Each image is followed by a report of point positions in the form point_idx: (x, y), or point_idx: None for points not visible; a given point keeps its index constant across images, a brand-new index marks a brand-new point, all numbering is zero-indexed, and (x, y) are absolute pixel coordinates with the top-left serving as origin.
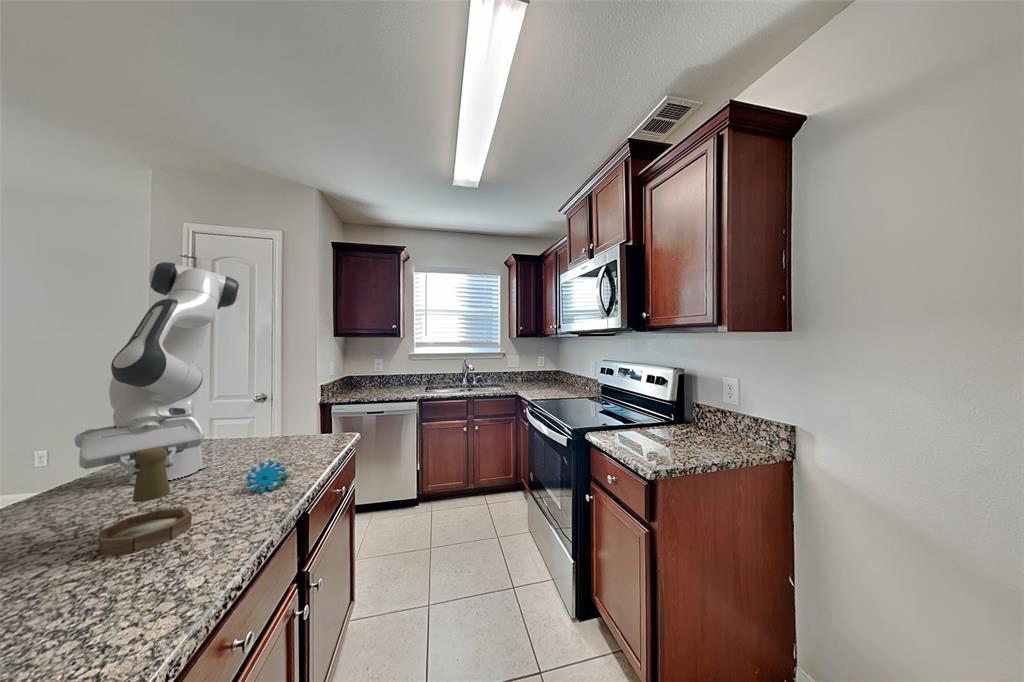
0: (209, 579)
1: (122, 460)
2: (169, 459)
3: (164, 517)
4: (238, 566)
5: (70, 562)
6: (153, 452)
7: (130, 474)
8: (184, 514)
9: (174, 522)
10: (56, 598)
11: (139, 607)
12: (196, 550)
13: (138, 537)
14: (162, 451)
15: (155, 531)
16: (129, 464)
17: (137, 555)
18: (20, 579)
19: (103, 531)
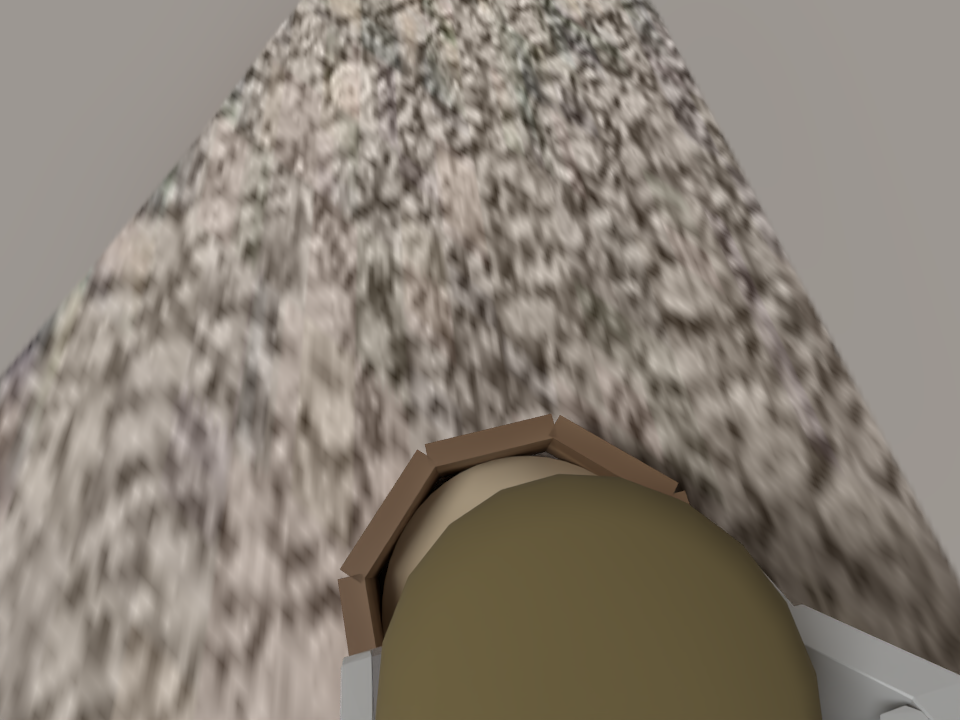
0: (320, 74)
1: (946, 683)
2: (370, 697)
3: None
4: (246, 91)
5: (756, 510)
6: (543, 506)
7: None
8: (370, 610)
9: (411, 499)
10: (682, 232)
11: (467, 54)
12: (343, 284)
13: (538, 418)
14: (426, 581)
15: (480, 434)
16: (801, 614)
17: (528, 391)
18: (870, 467)
19: None
